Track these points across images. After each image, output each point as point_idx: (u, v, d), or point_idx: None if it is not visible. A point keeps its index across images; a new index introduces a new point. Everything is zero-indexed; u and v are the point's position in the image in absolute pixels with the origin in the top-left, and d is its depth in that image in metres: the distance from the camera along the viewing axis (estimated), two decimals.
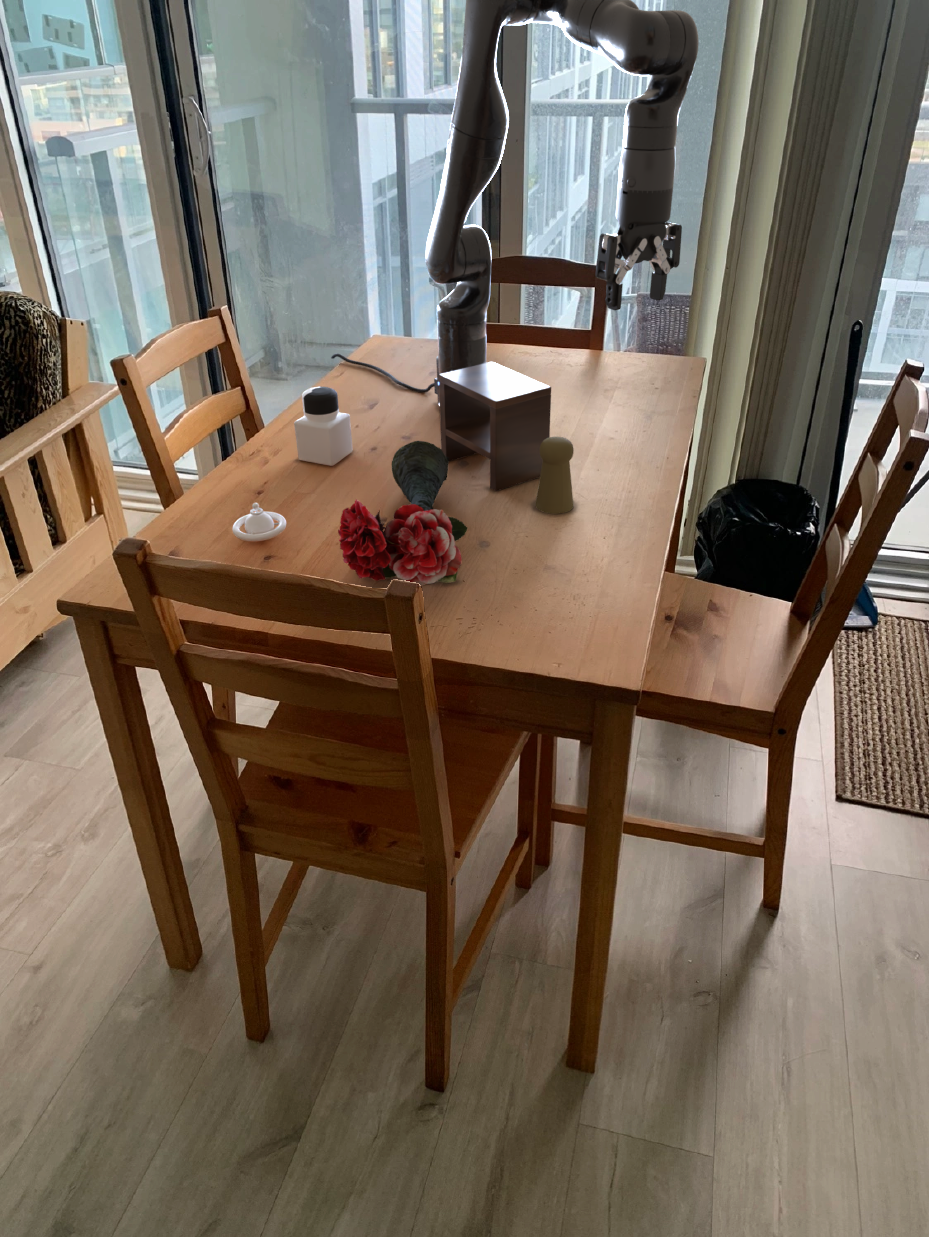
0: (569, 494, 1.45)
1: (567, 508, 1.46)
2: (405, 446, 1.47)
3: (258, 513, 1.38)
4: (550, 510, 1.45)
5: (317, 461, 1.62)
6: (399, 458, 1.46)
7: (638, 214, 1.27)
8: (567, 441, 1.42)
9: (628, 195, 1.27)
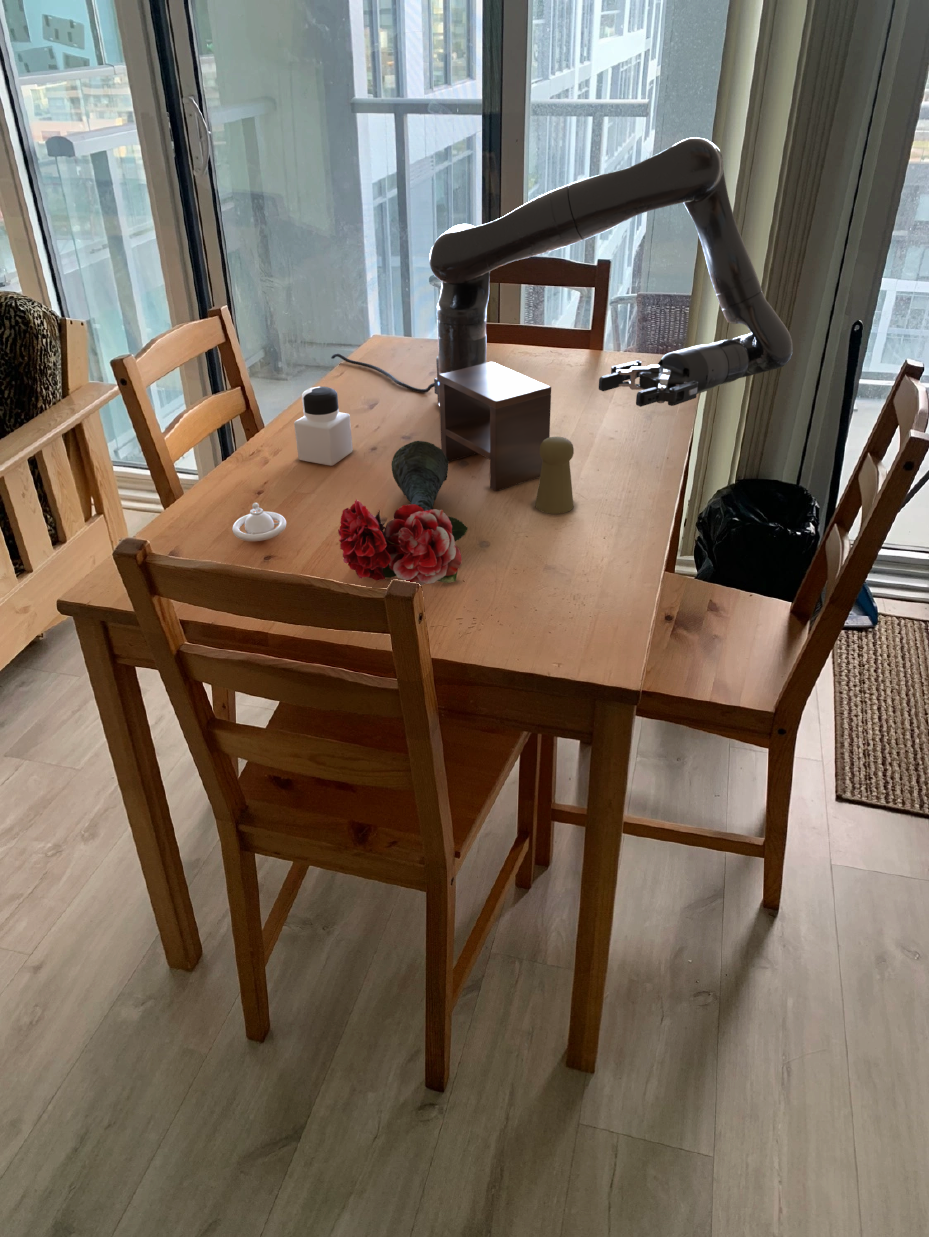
0: (569, 494, 1.45)
1: (567, 508, 1.46)
2: (405, 446, 1.47)
3: (258, 513, 1.38)
4: (550, 510, 1.45)
5: (317, 461, 1.62)
6: (399, 458, 1.46)
7: None
8: (567, 441, 1.42)
9: (704, 382, 1.50)
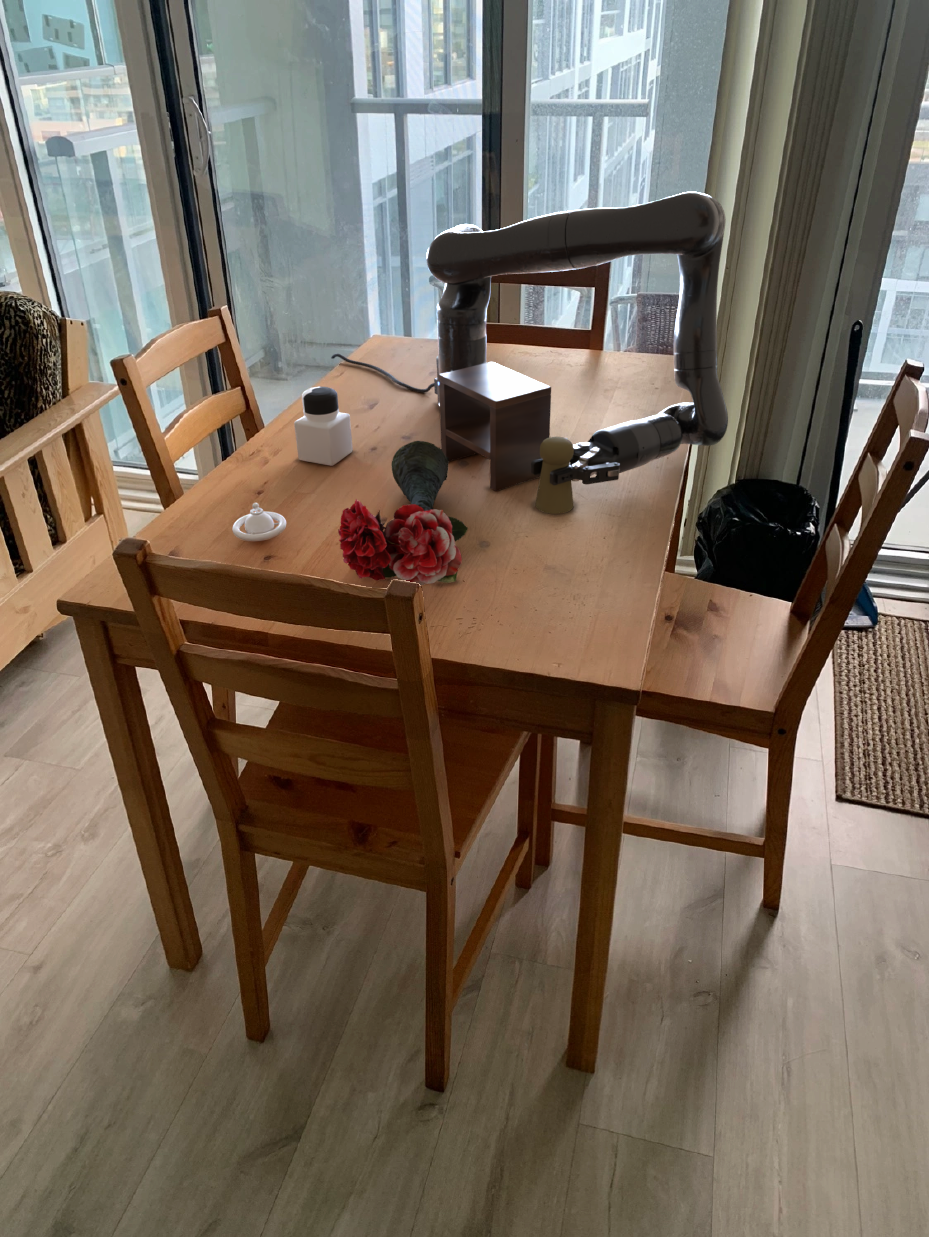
0: (569, 494, 1.45)
1: (567, 508, 1.46)
2: (405, 446, 1.47)
3: (258, 513, 1.38)
4: (550, 510, 1.45)
5: (317, 461, 1.62)
6: (399, 458, 1.46)
7: (621, 470, 1.49)
8: (567, 441, 1.42)
9: (635, 459, 1.49)
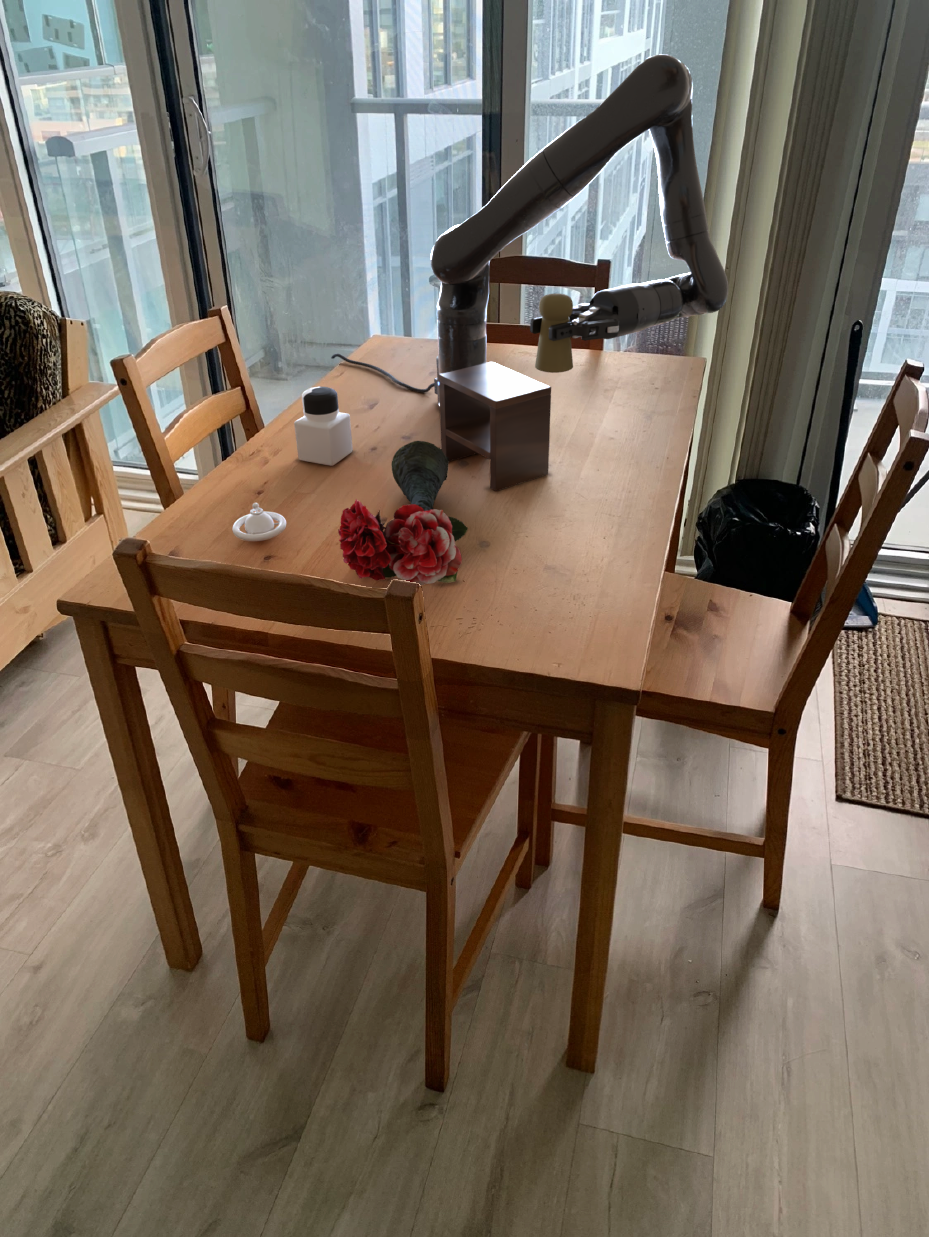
0: (568, 352, 1.45)
1: (567, 367, 1.45)
2: (405, 446, 1.47)
3: (258, 513, 1.38)
4: (549, 369, 1.45)
5: (317, 461, 1.62)
6: (399, 458, 1.46)
7: (621, 332, 1.48)
8: (566, 296, 1.41)
9: (635, 320, 1.48)
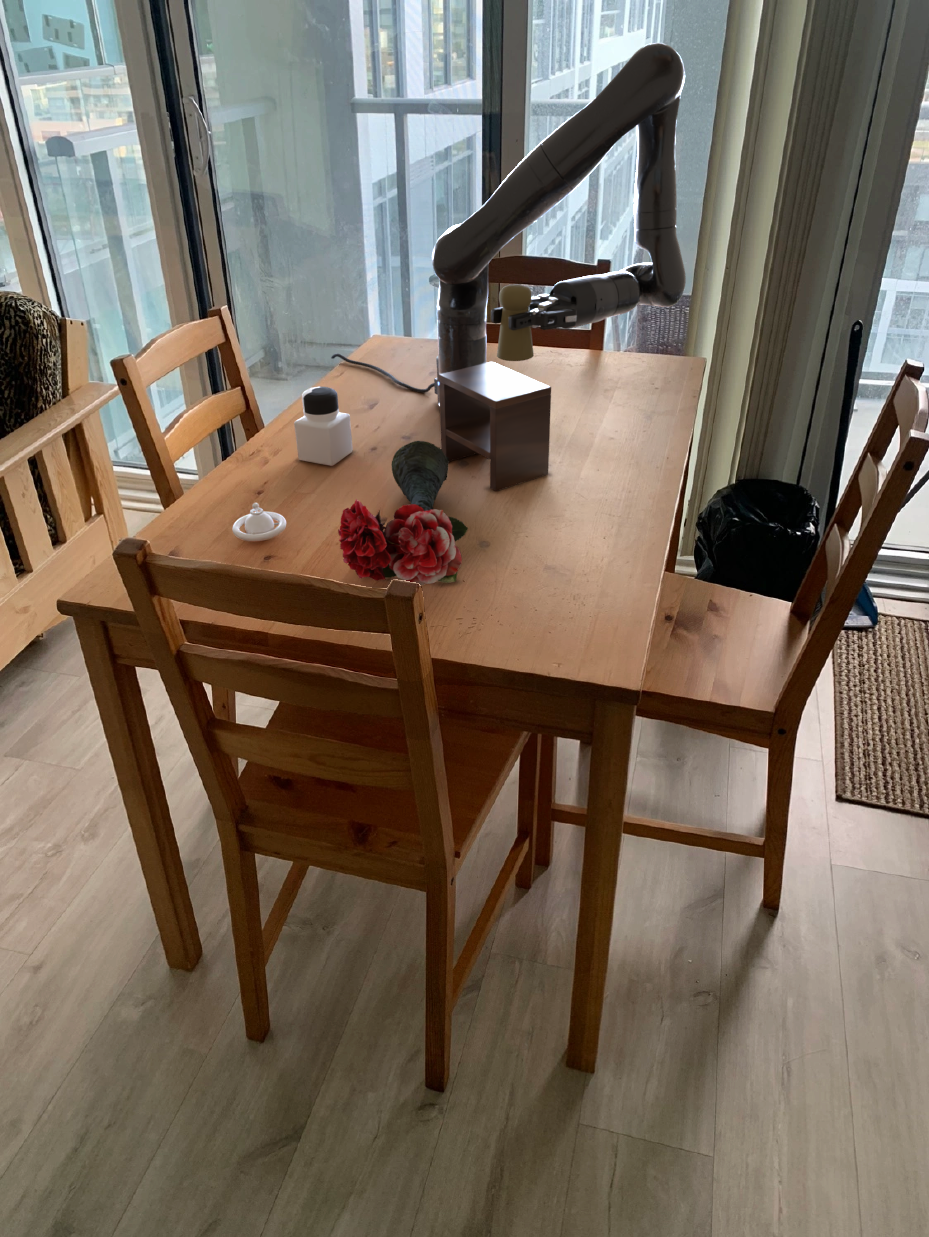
0: (528, 341, 1.50)
1: (527, 356, 1.50)
2: (405, 446, 1.47)
3: (258, 513, 1.38)
4: (510, 357, 1.50)
5: (317, 461, 1.62)
6: (399, 458, 1.46)
7: (580, 322, 1.53)
8: (525, 287, 1.46)
9: (593, 310, 1.53)
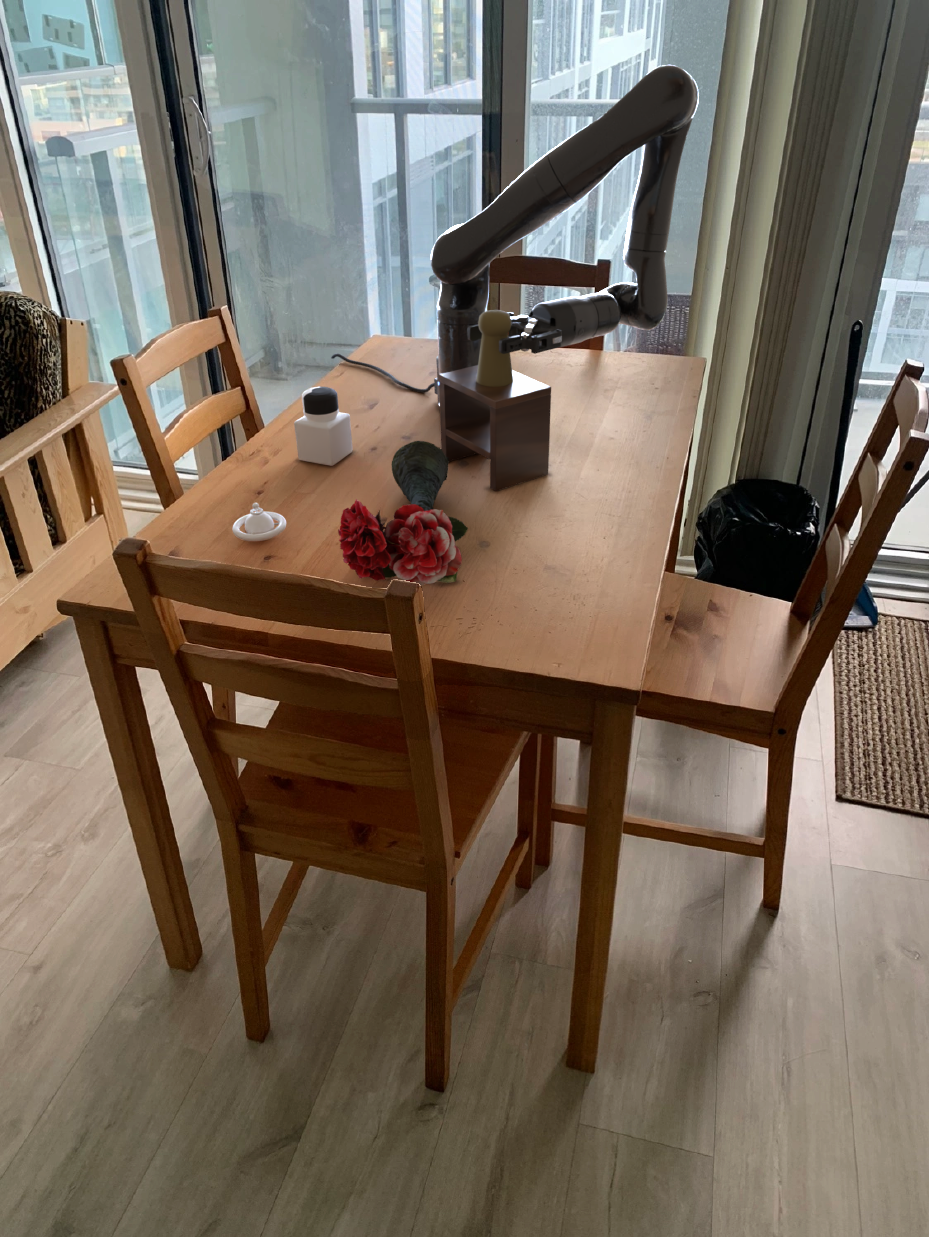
0: (507, 367, 1.49)
1: (506, 381, 1.50)
2: (405, 446, 1.47)
3: (258, 513, 1.38)
4: (489, 383, 1.50)
5: (317, 461, 1.62)
6: (399, 458, 1.46)
7: None
8: (505, 313, 1.46)
9: (573, 332, 1.53)
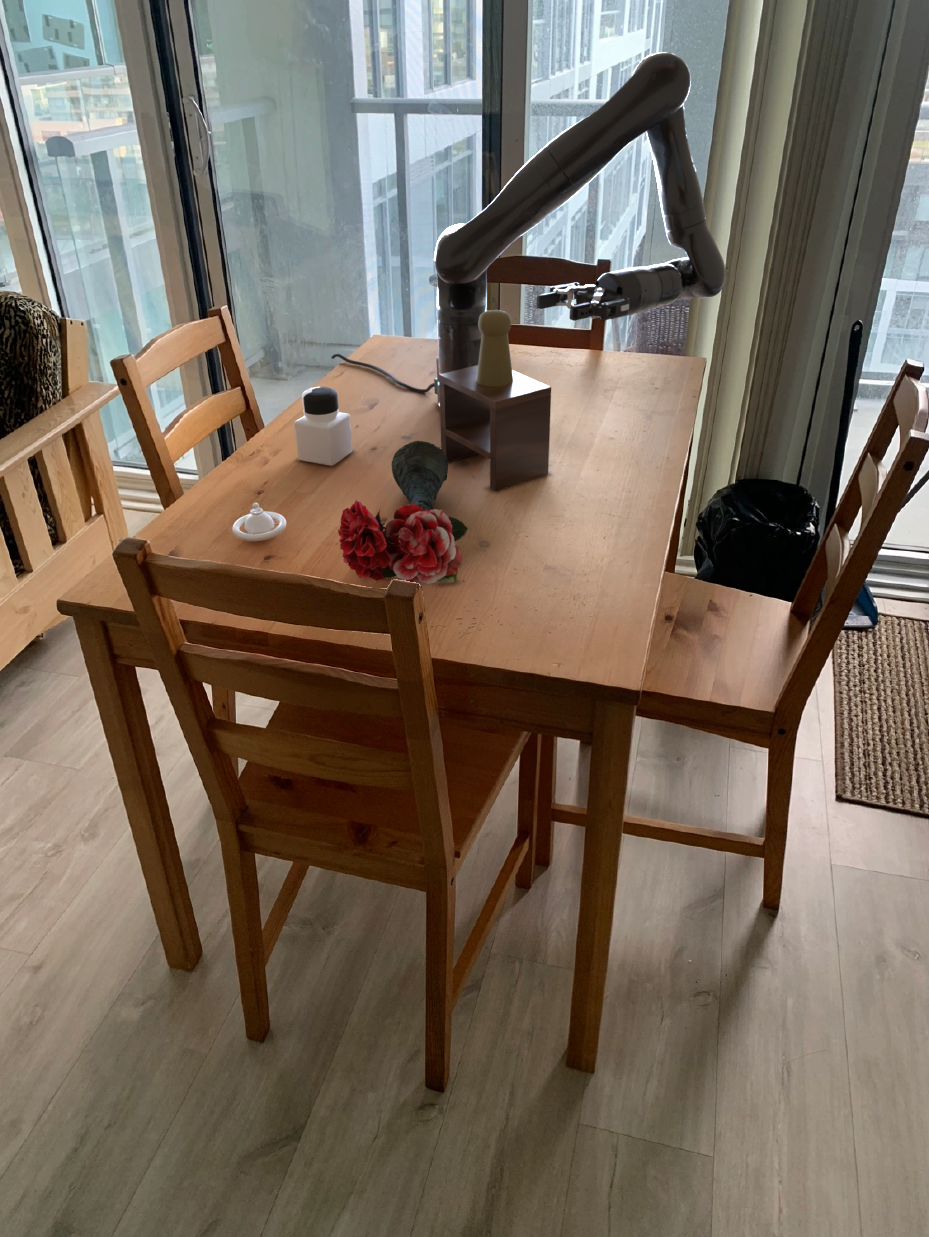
0: (507, 367, 1.49)
1: (506, 381, 1.50)
2: (405, 446, 1.47)
3: (258, 513, 1.38)
4: (489, 383, 1.50)
5: (317, 461, 1.62)
6: (399, 458, 1.46)
7: None
8: (504, 313, 1.46)
9: (638, 301, 1.57)
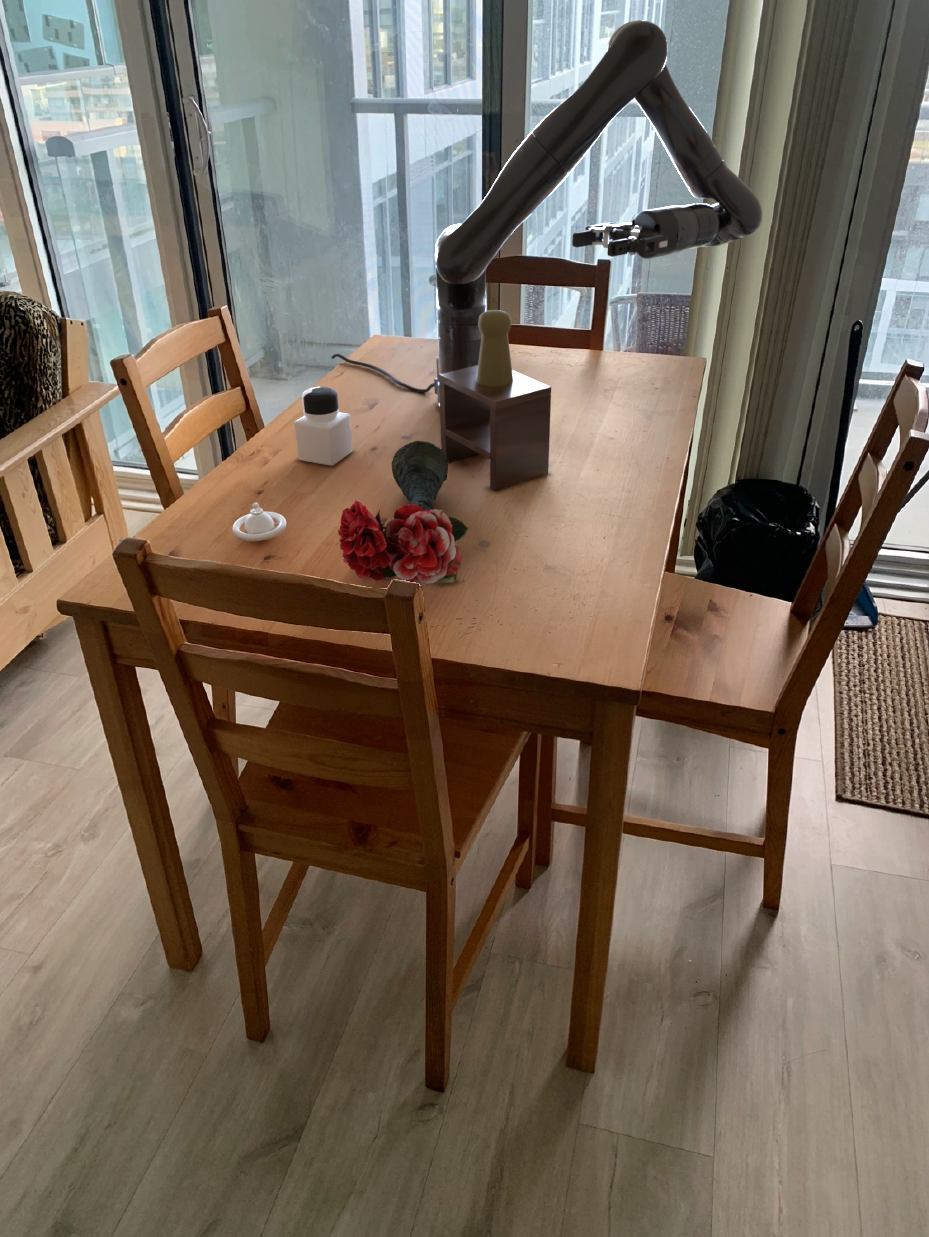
0: (507, 367, 1.49)
1: (506, 381, 1.50)
2: (405, 446, 1.47)
3: (258, 513, 1.38)
4: (489, 383, 1.50)
5: (317, 461, 1.62)
6: (399, 458, 1.46)
7: None
8: (504, 313, 1.46)
9: (675, 240, 1.54)
